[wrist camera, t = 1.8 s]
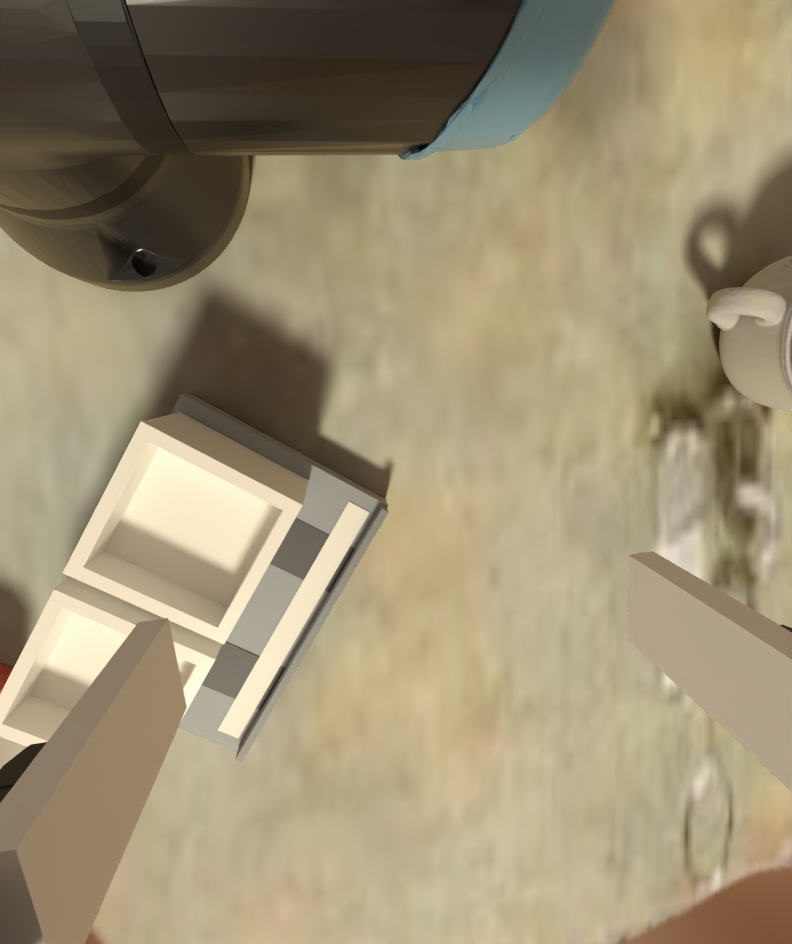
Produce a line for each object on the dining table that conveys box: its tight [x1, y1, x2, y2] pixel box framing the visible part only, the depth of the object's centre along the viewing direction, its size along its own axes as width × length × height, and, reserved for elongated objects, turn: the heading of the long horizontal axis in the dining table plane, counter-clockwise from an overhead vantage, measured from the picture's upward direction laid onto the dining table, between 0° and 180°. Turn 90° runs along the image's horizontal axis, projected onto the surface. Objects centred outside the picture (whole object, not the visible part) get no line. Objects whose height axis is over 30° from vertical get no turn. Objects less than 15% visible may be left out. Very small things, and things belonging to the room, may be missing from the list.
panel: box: [170, 393, 388, 762], centre depth 34 cm, size 15×26×3 cm, turn 150°
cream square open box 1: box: [63, 412, 309, 644], centre depth 29 cm, size 9×9×6 cm
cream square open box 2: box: [0, 577, 222, 747], centre depth 30 cm, size 9×9×6 cm
